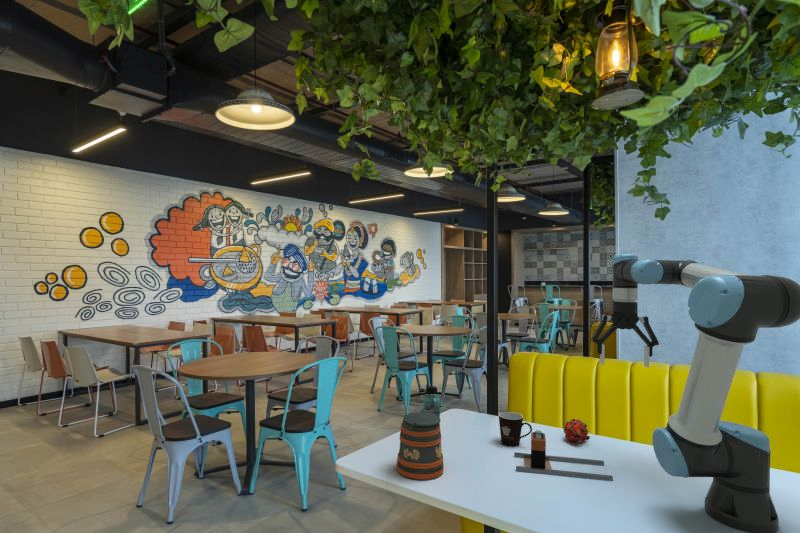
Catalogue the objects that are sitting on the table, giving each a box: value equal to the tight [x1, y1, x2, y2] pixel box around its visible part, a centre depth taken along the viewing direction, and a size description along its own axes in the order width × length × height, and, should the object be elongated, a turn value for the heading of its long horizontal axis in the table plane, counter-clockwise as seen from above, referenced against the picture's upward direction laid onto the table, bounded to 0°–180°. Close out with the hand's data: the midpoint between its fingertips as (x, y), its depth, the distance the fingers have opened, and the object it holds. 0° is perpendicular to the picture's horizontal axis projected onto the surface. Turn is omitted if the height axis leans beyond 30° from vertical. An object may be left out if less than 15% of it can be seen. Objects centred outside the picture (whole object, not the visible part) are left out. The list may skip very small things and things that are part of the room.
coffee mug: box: [498, 411, 533, 448], centre depth 162 cm, size 12×9×10 cm
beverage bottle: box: [422, 385, 441, 425], centre depth 163 cm, size 6×7×20 cm
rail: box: [513, 452, 614, 482], centre depth 144 cm, size 12×28×1 cm, turn 79°
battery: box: [530, 429, 547, 469], centre depth 145 cm, size 4×7×10 cm, turn 164°
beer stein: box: [395, 398, 445, 481], centre depth 143 cm, size 19×15×20 cm
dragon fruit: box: [563, 418, 591, 445], centre depth 167 cm, size 8×8×12 cm
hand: (624, 365), depth 150 cm, fingers open, 13 cm apart
